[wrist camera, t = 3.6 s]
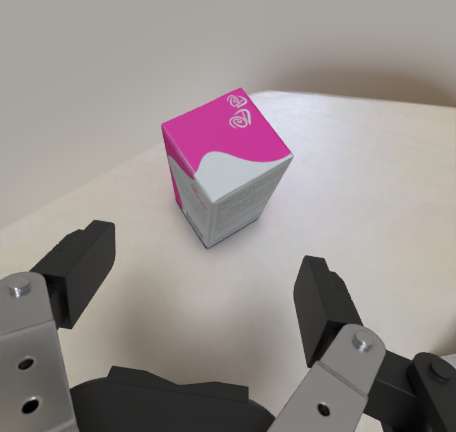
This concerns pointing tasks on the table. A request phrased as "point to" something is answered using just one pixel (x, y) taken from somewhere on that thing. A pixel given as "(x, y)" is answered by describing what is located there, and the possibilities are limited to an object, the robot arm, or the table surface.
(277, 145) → the supplement box
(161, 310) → the table surface
